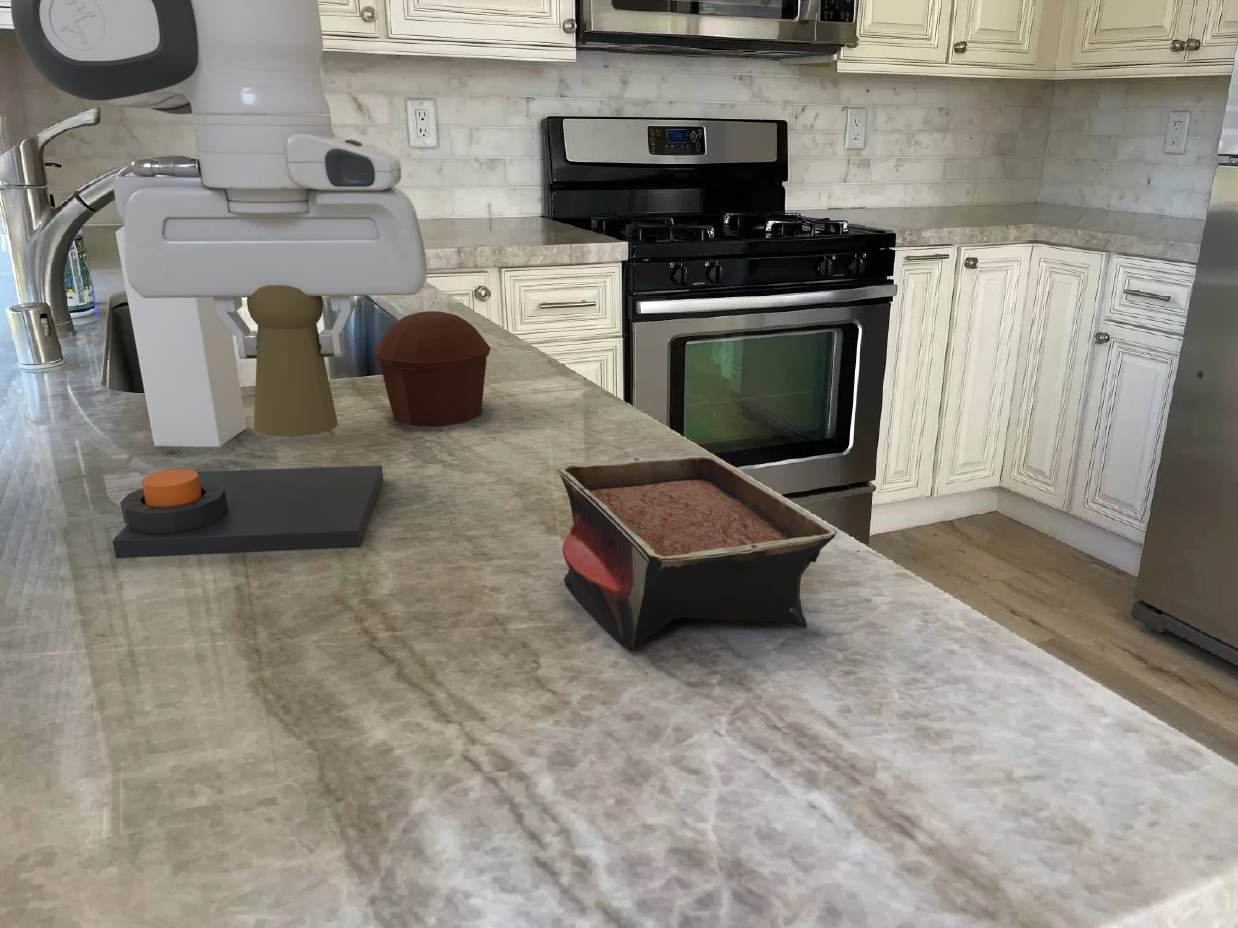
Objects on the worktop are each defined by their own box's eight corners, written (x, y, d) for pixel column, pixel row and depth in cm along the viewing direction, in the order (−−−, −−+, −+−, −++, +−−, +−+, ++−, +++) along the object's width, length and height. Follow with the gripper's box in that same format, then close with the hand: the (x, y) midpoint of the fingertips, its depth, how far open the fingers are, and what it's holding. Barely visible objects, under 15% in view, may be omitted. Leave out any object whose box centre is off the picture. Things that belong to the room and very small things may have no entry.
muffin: (478, 431, 97) (472, 327, 93) (364, 429, 97) (353, 325, 94) (503, 399, 108) (498, 305, 104) (400, 397, 108) (392, 303, 105)
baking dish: (739, 566, 74) (726, 431, 71) (866, 645, 57) (854, 473, 55) (547, 609, 69) (525, 467, 67) (624, 708, 53) (599, 524, 50)
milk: (154, 447, 91) (104, 192, 83) (185, 427, 97) (141, 186, 89) (221, 448, 91) (178, 192, 83) (248, 428, 97) (210, 187, 89)
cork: (239, 423, 77) (222, 275, 73) (313, 410, 81) (301, 270, 77) (277, 441, 73) (262, 287, 69) (353, 427, 77) (343, 280, 73)
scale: (111, 559, 69) (103, 518, 67) (175, 488, 81) (169, 453, 80) (359, 548, 71) (355, 508, 70) (383, 481, 84) (380, 446, 83)
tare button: (138, 510, 70) (133, 487, 69) (155, 492, 73) (151, 469, 72) (193, 508, 70) (189, 485, 70) (208, 490, 74) (204, 468, 73)
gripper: (90, 160, 66) (129, 369, 71) (413, 162, 69) (429, 363, 74) (124, 156, 72) (158, 350, 77) (421, 158, 75) (435, 344, 80)
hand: (293, 356), depth 75 cm, fingers closed on cork, 4 cm apart
